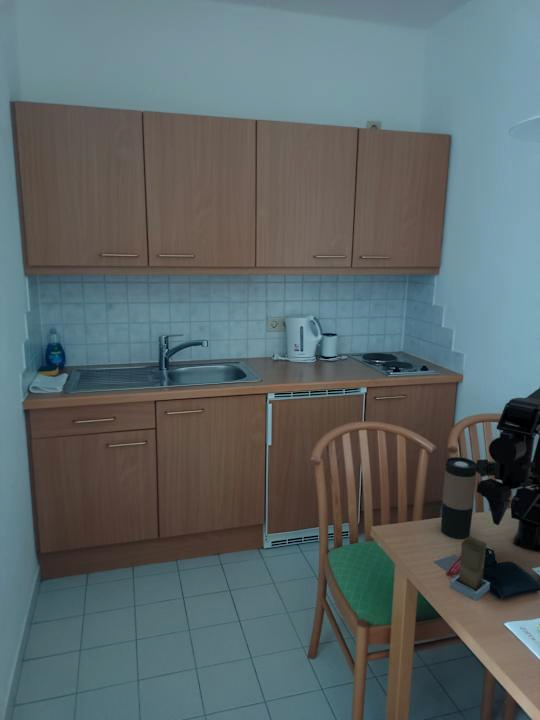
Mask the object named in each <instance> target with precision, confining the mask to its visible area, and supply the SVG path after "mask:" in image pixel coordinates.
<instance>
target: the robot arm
mask: <svg viewBox="0 0 540 720" xmlns="http://www.w3.org/2000/svg"><path fill="white" fill-rule="evenodd" d="M538 387H539V388H538V389H536V390H534V391H533V392H532V393H531V394H529V395H527V397H515V398H510V400H509V401H508V402H506V403H505V405H504V408H503V410H502V412H501V415H500V417H499V420H498V423H497V425H496V430H499V431H501V432H500V434H499V437H496V438H494V439H493V440H492V441H491V442H490V444H489V446H488V453H489V456H490V458H491V459H492V460H491V461H488V459H487V458H485V459H483V458H482V459H477V460H476V462H475V463H476V468H475V470H476V474H479V475H480V477H483V478H484V477H487V476H488V477H490V476H491V477H493V478H494V479H493V478H489V479H484V480H483V479H482V480H480V481H479V482H477V486H476V493H478V494H480V496H481V497H484V498H485V499H486V501H487V502H488V506H489V509H490V512H491V518H492V521H493V524H494V525H496V526H499V525H500V523H501V521H502V520H503V517H504V516H505V514H506V511H507V509H508V507H509V506H510V514H511V516H510V517H511V519H515V520H518V525H517V532H516V533H515V538H514V540H513V545H516V546H519V547H523V548H526V549H530V550H533V551H537V552H540V386H538ZM537 435H539V436H538V439H537V443H536V446H535V445H534V444H535V437H536V436H537ZM534 446H535V449H534ZM533 452H534V455H533ZM500 481H501V482H500ZM515 490H516V493H515V495H513V497H512V499H511V500H510V497H511V496H512V491H515Z"/></svg>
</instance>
